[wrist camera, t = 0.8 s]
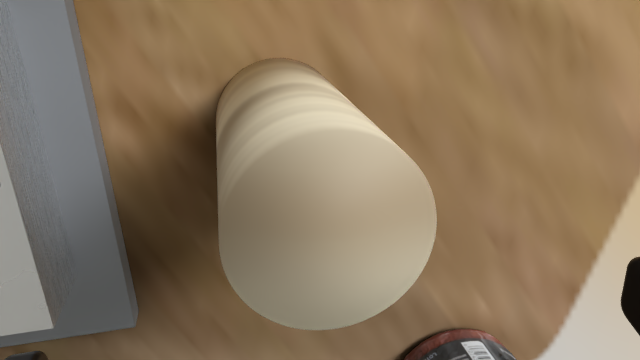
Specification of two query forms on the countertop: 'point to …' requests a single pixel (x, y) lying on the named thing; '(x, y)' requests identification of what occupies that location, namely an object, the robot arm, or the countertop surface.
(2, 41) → the socket collar
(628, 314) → the robot arm
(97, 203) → the socket plate
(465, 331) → the supplement bottle
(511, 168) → the countertop surface
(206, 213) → the countertop surface
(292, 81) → the beech peg
